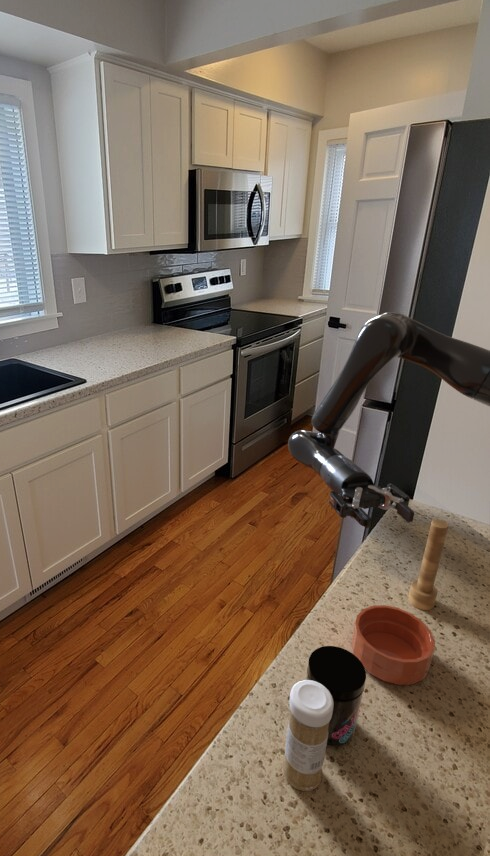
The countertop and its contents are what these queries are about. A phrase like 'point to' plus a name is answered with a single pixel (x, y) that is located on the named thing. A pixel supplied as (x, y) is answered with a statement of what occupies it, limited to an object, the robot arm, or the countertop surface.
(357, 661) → the supplement container
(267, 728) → the countertop surface
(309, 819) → the countertop surface
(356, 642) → the bowl
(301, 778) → the sprinkles bottle
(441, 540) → the muddler
